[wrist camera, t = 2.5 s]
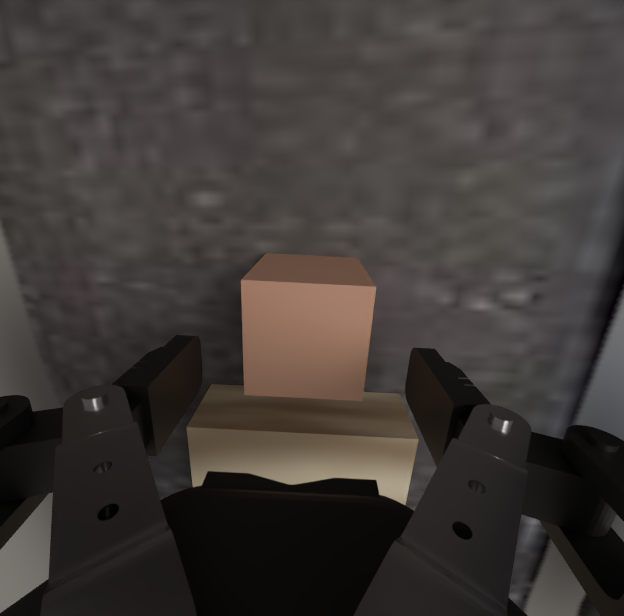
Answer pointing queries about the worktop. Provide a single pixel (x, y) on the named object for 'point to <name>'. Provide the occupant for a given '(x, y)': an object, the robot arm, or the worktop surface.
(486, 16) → the worktop surface
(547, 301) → the worktop surface
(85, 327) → the worktop surface
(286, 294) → the terracotta block
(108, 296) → the worktop surface
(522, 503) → the robot arm
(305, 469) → the birch base
